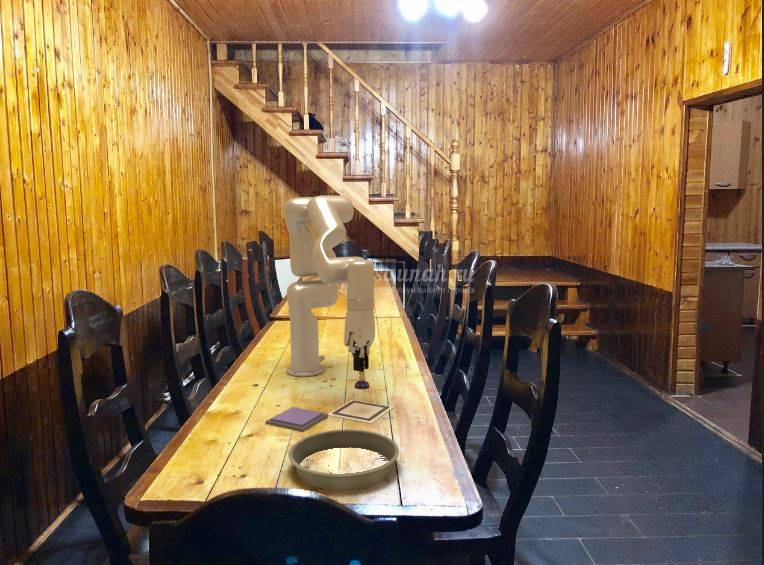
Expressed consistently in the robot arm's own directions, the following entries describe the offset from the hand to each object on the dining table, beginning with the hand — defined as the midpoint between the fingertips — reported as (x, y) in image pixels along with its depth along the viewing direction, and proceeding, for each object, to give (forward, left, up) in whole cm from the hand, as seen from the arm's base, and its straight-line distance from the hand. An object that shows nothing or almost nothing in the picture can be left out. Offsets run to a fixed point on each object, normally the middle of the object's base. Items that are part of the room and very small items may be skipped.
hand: (361, 369), depth 170 cm
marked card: (0, 0, -12) cm, 12 cm away
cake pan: (+33, +14, -13) cm, 38 cm away
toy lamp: (0, 0, -5) cm, 5 cm away
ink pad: (+14, -12, -12) cm, 22 cm away
